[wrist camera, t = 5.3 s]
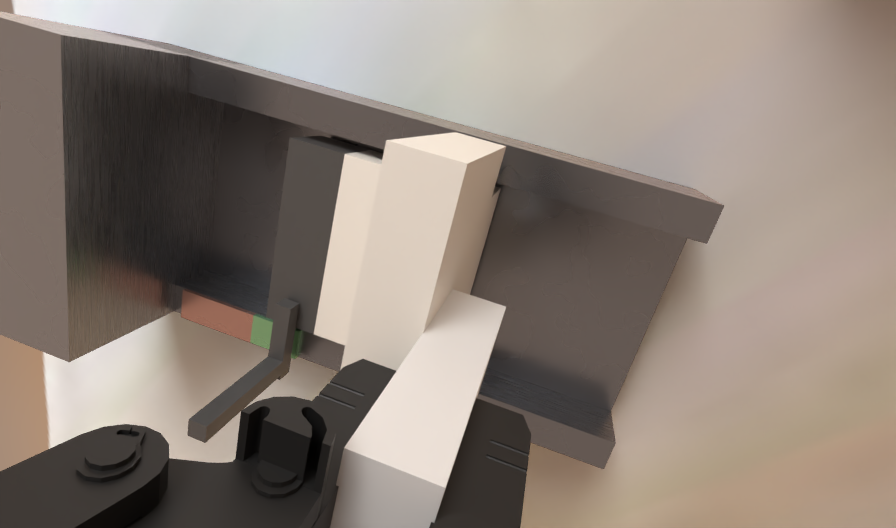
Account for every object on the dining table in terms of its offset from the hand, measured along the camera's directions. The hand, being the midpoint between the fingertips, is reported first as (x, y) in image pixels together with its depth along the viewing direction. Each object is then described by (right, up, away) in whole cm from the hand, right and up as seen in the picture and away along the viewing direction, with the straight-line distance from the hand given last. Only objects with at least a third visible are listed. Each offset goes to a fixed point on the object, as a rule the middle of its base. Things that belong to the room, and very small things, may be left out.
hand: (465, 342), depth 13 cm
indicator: (-5, +3, +6) cm, 9 cm away
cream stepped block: (-2, +2, +6) cm, 6 cm away
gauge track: (-3, +4, +8) cm, 9 cm away
